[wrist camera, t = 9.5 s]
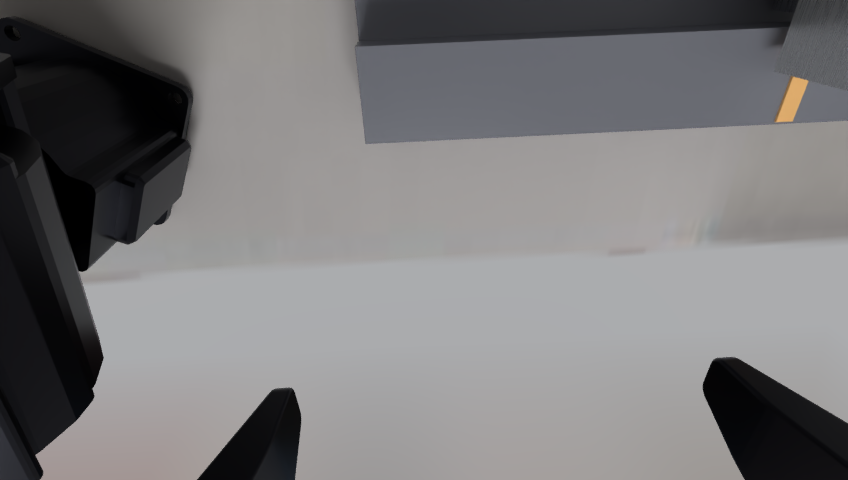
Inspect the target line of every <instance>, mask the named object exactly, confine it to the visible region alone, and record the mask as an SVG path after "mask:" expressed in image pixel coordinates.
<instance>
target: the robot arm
mask: <svg viewBox="0 0 848 480" xmlns="http://www.w3.org/2000/svg"><path fill="white" fill-rule="evenodd" d="M13 27H15V28H16V29H17V30H18V31H19V32H20V36H21V37H20V38H18V37H17V36H16V35H15V34H14V32H13ZM173 92H176V93H178V94H179V95H180V96H181V98H182V103H179V102H177V101H175V99H174V98H173ZM192 103H193V97H192V94H191V92H190V91H189V89H188V88H187V87H185V86H184V85H182V84H180V83H177V82H175V81H173V80H170V79H168V78H165V77H163V76H160V75H158V74H156V73H153V72H151V71H148V70H146V69H143V68H141V67H139V66H136V65H134V64H131V63H129V62H126V61H124V60H122V59H119V58H117V57H114V56H112V55H109V54H107V53H105V52H102V51H100V50H97V49H95V48H92V47H90V46H88V45H85V44H83V43H80V42H78V41H75V40H73V39H71V38H68V37H66V36H63V35H61V34H58V33H56V32H54V31H51V30H49V29H46V28H44V27H41V26H39V25H37V24H34V23H32V22H29V21H27V20H24V19H22V18H19V17H7V18H1V19H0V480H40V479H41V477H42V476H43V470H42V468H41V466H40V464H39V462H38V460H37V458H36V456H35V455H36V454H37V453H39V452H40V451H41V450H43V449H44V448H45V447H46V446H47V445H48V444H50V443H51V442H52V441H53V440H54V439H55V438H57V437H58V436H59V435H60V434H61V433H62V432H64V431H65V430H66V429H67V428H68V427H69V426H71V425H72V424H73V423H74V422H75V421H76V420H77V419H78V418H79V417H80V415H81V414H82V413H83V412H84V411H85V409H86V408H87V407H88V406H89V404H90V403H91V402H92V401H93V398H94V393H93V390H92V388H93V387H94V385H95V383H96V381H97V377H98V374H99V371H100V368H101V365H102V361H103V358H104V357H103V353H102V349H101V345H100V340H99V336H98V333H97V330H96V327H95V323H94V320H93V317H92V314H91V310H90V307H89V304H88V300H87V298H86V294H85V291H84V287H83V284H82V281H81V278H80V274H79V271H81V272H83V271H86V270H87V269H88V268H90V267H91V266H92V265H93V264H94V263H95V262H96V261H97V260H98V259H99V258H100V257H101V256H102V255H103V254H104V253H105V252H107V251H108V250H109V249H110V248H111V247H112V246H113V245H114V244H115V243H116V242H117V241H118V242H121V243H124V244H127V245H128V244H131V243H133V242H136V241H137V240H138V239H139V238H140V237H141V236H142V235H143V234H144V233H145V232H146V231H147V230H148V229H149V228H150V227H151V226H152V225H153V224H155V225H159V224H162V223H164V222H165V221H166V220H167V219H168V218H169V216H170V213H171V208H172V205H173V204H174V203H175V202H176V201H177V200H178V199H179V198H180V197H181V195H182V190H183V185H184V181H185V176H186V171H187V166H188V161H189V157H190V152H191V146H190V144H189V142H188V140H186V139H185V138H186V133H187V128H188V123H189V118H190V113H191V108H192ZM703 392H704V396H705V398H706V400H707V402H708V405H709V407H710V409H711V411H712V413H713V415H714V418H715V420H716V422H717V424H718V426H719V429H720V431H721V433H722V435H723V437H724V440H725V442H726V444H727V446H728V448H729V450H730V453H731V455H732V457H733V459H734V461H735V463H736V465H737V466H738V468H739V470H740V472H741V474H742V476H743V477H744V479H745V480H848V423H846V422H845V421H843V420H841V419H840V418H838V417H836V416H834V415H833V414H831V413H829V412H828V411H826V410H824V409H823V408H821V407H819V406H818V405H816V404H814V403H812V402H811V401H809V400H807V399H806V398H804V397H802V396H801V395H799V394H797V393H796V392H794V391H792V390H790V389H788V388H787V387H785V386H784V385H782V384H780V383H778V382H777V381H775V380H774V379H772V378H770V377H768V376H767V375H765V374H763V373H762V372H760V371H758V370H757V369H755V368H753V367H752V366H750V365H748V364H747V363H745V362H743V361H741V360H739V359H738V358H734V357H726V358H725V357H724V358H716V359H714V360H713V361H712V363H711V365H710V368H709V370H708V372H707V375H706V377H705V380H704V382H703ZM300 429H301V413H300V409H299V405H298V402H297V398H296V395H295V392H294V390H293V389H292V388H279V389H274V390H272V391H271V392H270V393H269V394H268V395H267V397H266V398H265V399H264V400H263V401H262V403H261V404H260V405H259V406H258V407H257V409H256V410H255V411H254V412H253V413H252V415H251V416H250V417H249V418H248V419H247V421H246V422H245V423H244V424H243V425H242V427H241V428H240V429H239V430H238V432H237V433H236V434H235V435H234V436H233V437H232V439H231V440H230V441H229V442H228V443H227V445H226V446H225V447H224V448H223V449H222V451H221V452H220V453H219V454H218V455H217V457H216V458H215V459H214V460H213V461H212V462H211V464H210V465H209V466H208V467H207V469H206V470H205V471H204V472H203V473H202V475H201V476H200V477H199V478H198V479H197V480H295V473H296V464H297V456H298V446H299V438H300Z"/></svg>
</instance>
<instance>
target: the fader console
mask: <svg viewBox="0 0 848 480" xmlns="http://www.w3.org/2000/svg"><path fill="white" fill-rule="evenodd" d="M774 2H775V0H355V6H356V15H357V25H358V35H359V42H358V43H357V45H356V46H355V51H356V60H357V69H358V78H359V88H360V97H361V106H362V115H363V125H364V134H365V143H366V144H374V143H395V142H415V141H436V140H457V139H477V138H498V137H519V136H539V135H560V134H581V133H601V132H622V131H643V130H663V129H684V128H705V127H725V126H746V125H766V124H787V123H808V122H828V121H848V91H845V90H842V89H838V88H834V87H830V86H827V85H823V84H819V83H816V82H812V81H808V80H804V79H801V78H797V77H793V76H790V75H786V74H782V73H778V72H775V71H774V69H775V66H776V63H777V60H778V58H779V55H780V52H781V49H782V46H783V43H784V41H785V38H786V35H787V32H788V29H789V26H790V24H791V21H792V18H793V15H794V13H791V12H782V11H772V8H773V5H774Z"/></svg>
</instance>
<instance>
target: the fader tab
mask: <svg viewBox="0 0 848 480" xmlns="http://www.w3.org/2000/svg"><path fill="white" fill-rule="evenodd" d="M772 11H782V12H791V13H794V15H793V18H792V21H791V24H790V26H789V29H788V32H787V35H786V38H785V41H784V43H783V46H782V49H781V52H780V55H779V58H778V60H777V63H776V66H775V69H774V71H775V72H778V73H782V74H786V75H790V76H793V77H797V78H801V79H804V80H808V81H812V82H816V83H819V84H823V85H827V86H830V87H834V88H838V89H842V90H845V91H848V0H775V2H774V5H773V8H772Z"/></svg>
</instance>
